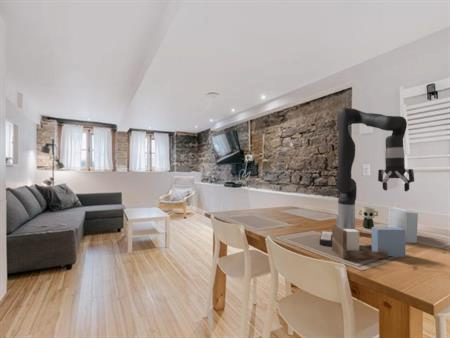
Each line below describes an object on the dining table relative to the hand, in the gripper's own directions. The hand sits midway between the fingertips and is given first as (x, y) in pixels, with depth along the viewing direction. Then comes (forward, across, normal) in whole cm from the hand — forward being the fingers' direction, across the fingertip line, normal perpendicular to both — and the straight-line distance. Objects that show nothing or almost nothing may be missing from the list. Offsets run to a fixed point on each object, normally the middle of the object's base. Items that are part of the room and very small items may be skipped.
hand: (395, 190), depth 115 cm
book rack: (+28, -7, -22) cm, 36 cm away
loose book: (+28, 0, -12) cm, 31 cm away
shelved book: (+28, -10, -26) cm, 39 cm away
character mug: (+28, -28, +34) cm, 52 cm away
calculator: (+28, -25, -15) cm, 40 cm away
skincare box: (+28, -6, +25) cm, 38 cm away
